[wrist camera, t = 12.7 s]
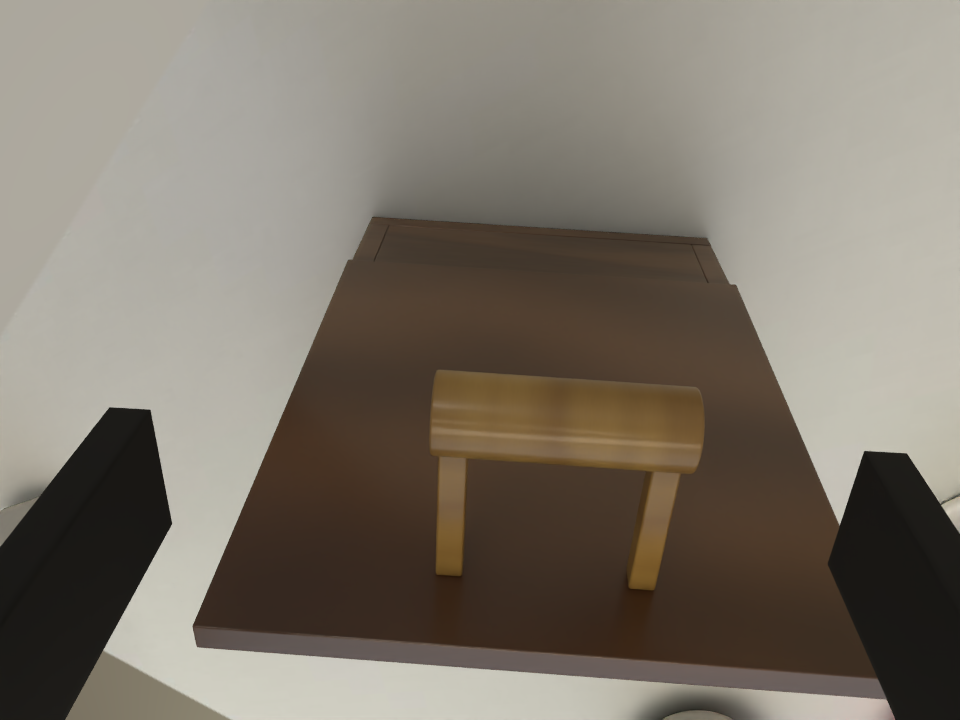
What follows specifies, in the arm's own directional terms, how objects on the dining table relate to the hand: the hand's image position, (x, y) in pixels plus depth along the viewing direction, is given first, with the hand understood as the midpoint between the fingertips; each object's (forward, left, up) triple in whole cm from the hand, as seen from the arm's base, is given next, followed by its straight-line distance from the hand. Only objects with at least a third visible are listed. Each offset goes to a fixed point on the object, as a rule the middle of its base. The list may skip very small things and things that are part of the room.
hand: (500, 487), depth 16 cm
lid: (+6, -2, -11) cm, 13 cm away
